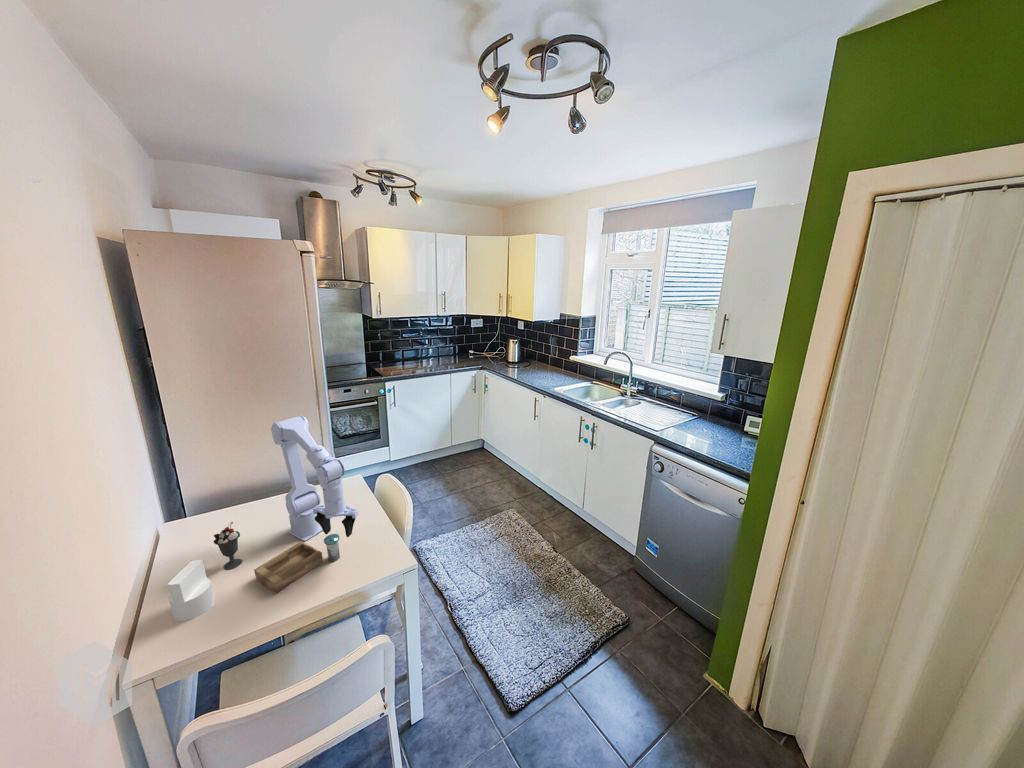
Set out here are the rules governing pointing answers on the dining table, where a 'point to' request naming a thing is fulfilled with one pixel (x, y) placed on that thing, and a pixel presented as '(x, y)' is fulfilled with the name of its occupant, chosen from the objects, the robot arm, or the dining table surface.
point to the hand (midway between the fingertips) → (338, 533)
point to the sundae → (228, 546)
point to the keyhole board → (288, 566)
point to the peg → (332, 547)
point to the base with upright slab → (190, 592)
